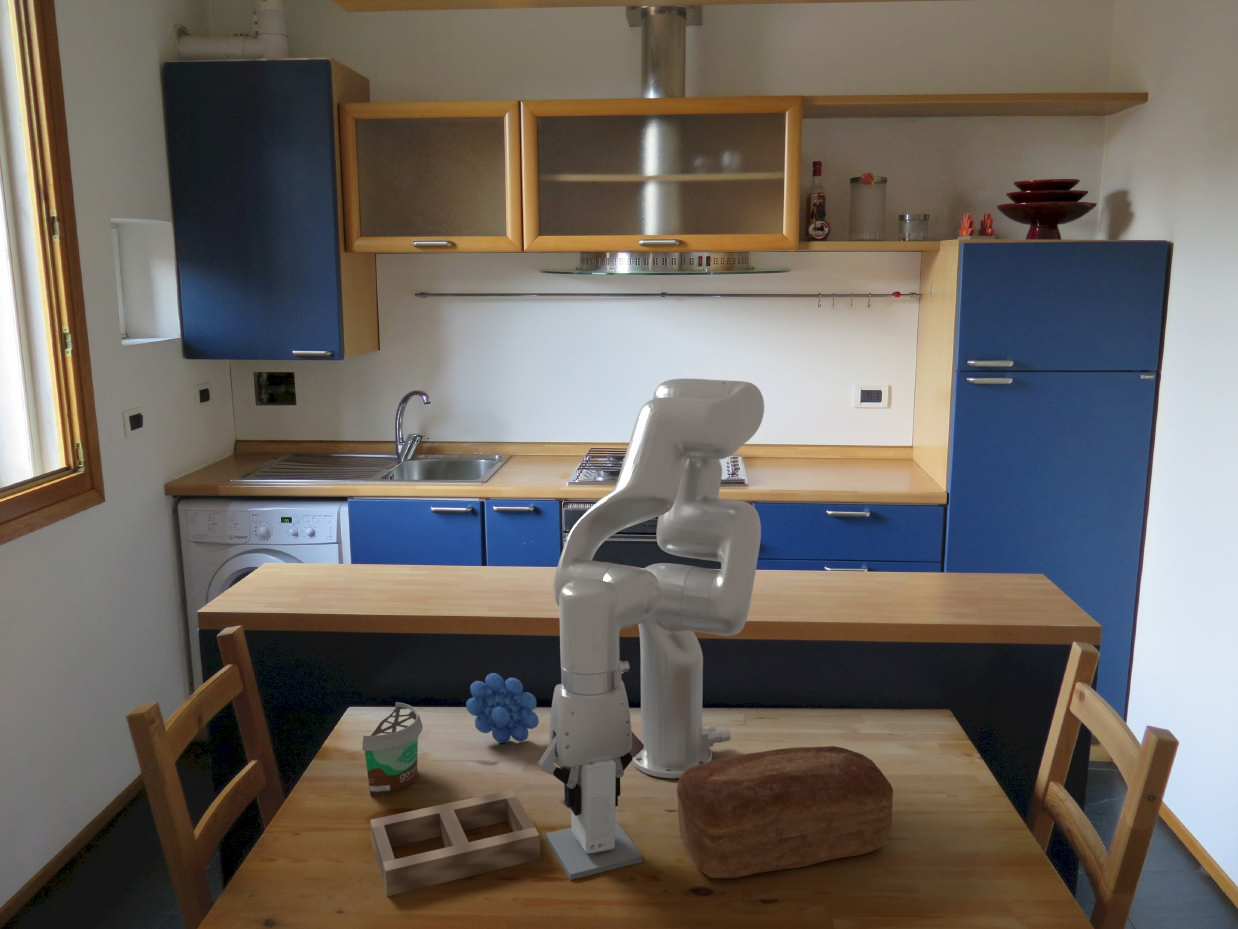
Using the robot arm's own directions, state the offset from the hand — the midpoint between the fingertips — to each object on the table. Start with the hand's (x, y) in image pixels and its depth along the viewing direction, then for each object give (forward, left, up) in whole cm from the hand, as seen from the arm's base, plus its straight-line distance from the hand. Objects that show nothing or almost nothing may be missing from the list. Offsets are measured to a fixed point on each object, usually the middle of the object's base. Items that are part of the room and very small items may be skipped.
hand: (592, 804), depth 131 cm
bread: (-23, +9, -7) cm, 26 cm away
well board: (+17, -7, -7) cm, 20 cm away
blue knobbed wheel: (+3, -33, -7) cm, 34 cm away
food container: (+20, -28, -7) cm, 35 cm away
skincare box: (0, 0, -5) cm, 5 cm away
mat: (0, 0, -7) cm, 7 cm away
